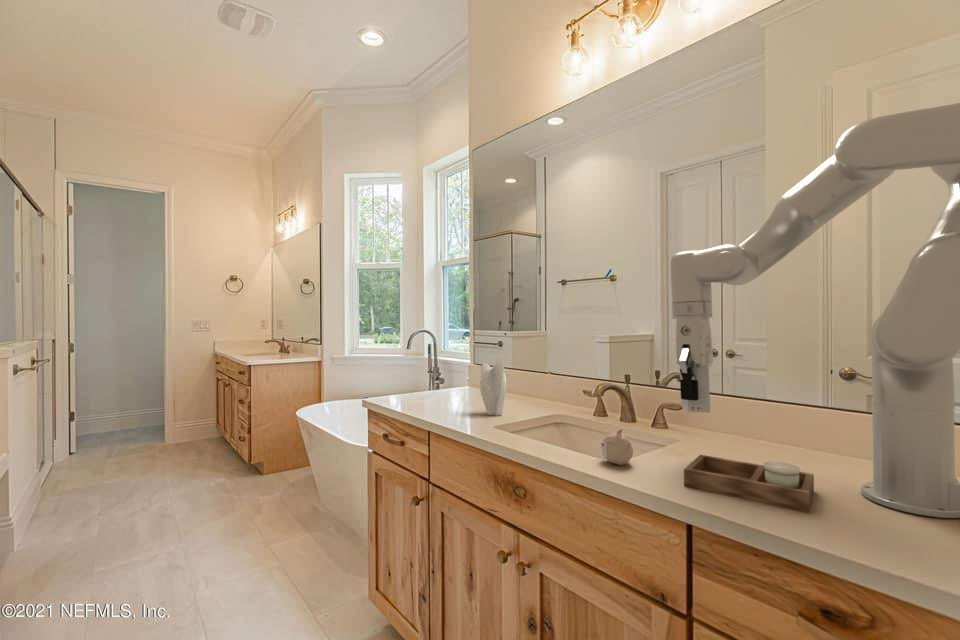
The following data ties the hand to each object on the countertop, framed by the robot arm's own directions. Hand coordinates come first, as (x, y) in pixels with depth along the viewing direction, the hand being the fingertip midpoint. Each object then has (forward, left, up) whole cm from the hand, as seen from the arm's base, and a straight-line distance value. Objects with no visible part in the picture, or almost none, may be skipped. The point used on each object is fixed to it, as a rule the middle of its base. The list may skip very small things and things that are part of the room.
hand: (695, 396), depth 93 cm
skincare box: (0, 0, -3) cm, 3 cm away
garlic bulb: (+13, +10, -14) cm, 21 cm away
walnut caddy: (-11, +10, -14) cm, 20 cm away
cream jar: (-16, +10, -14) cm, 23 cm away
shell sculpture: (+63, -12, -14) cm, 65 cm away
